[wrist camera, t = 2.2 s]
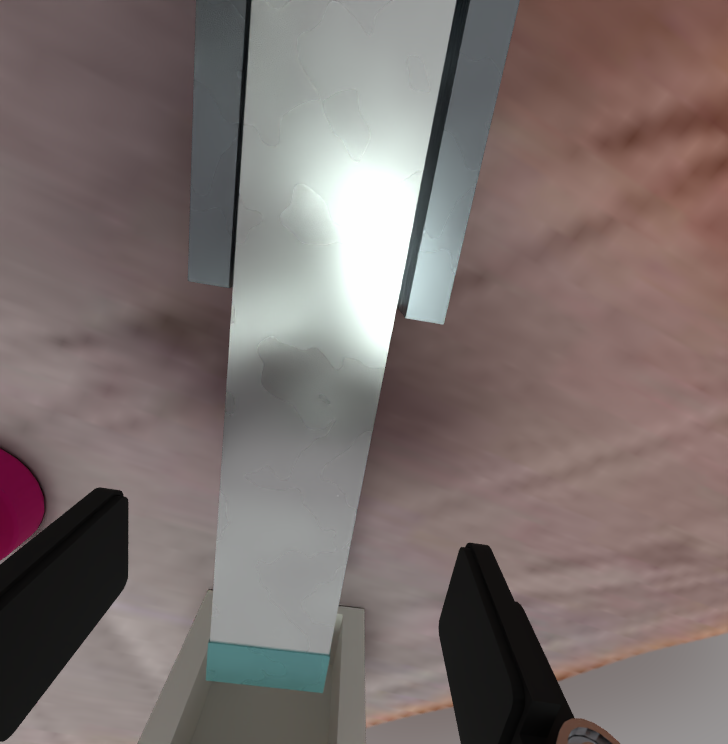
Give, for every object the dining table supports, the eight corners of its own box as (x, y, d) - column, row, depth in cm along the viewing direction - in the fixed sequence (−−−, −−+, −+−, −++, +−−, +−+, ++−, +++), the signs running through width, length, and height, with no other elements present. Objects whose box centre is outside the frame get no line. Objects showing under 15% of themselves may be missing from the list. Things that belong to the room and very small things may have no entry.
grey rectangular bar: (295, 44, 13) (254, -90, 8) (426, 72, 13) (467, -42, 8) (244, 573, 19) (205, 680, 14) (332, 584, 20) (322, 693, 15)
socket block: (208, 589, 21) (115, 791, 13) (364, 608, 21) (366, 813, 13) (204, 654, 22) (118, 870, 14) (350, 670, 23) (345, 888, 15)
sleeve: (260, -12, 13) (201, -170, 8) (476, 35, 13) (540, -89, 9) (240, 274, 16) (187, 281, 11) (419, 304, 16) (443, 324, 11)
